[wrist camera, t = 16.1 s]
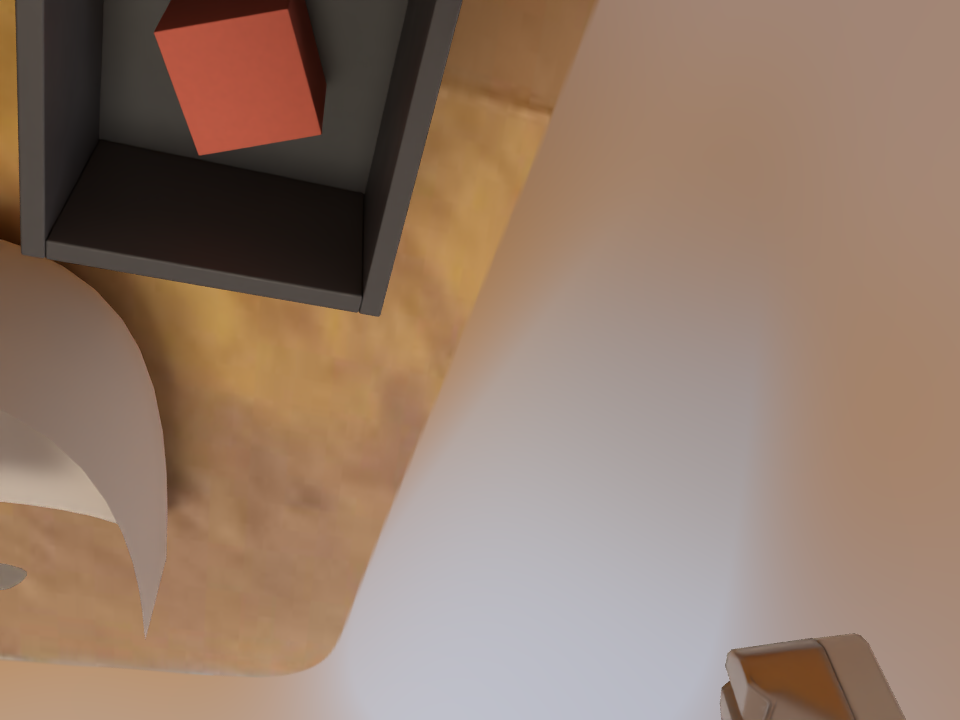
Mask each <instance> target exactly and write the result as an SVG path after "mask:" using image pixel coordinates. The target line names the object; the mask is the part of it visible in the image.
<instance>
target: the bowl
mask: <svg viewBox="0 0 960 720" xmlns="http://www.w3.org/2000/svg"><path fill="white" fill-rule="evenodd" d="M0 502H9V503H18V504H27V505H34V506H41V507H47V508H54V509H60V510H65V511H70V512H75V513H80V514H84V515H89V516H93V517H96V518H100V519H103V520H107V521H110V522H114V523H117V524H118V525H119V527H120V529H121V531H122V533H123V536H124V539H125V542H126V545H127V548H128V550H129V553H130V556H131V559H132V562H133V566H134V570H135V574H136V578H137V583H138V587H139V592H140V599H141V606H142V613H143V623H144V633H145V639H146V635H147V631H148V627H149V623H150V620H151V616H152V612H153V608H154V604H155V600H156V596H157V592H158V588H159V584H160V581H161V577H162V573H163V569H164V565H165V562H166V550H167V504H168V503H167V474H166V460H165V450H164V440H163V430H162V425H161V420H160V415H159V410H158V405H157V400H156V395H155V390H154V387H153V384H152V381H151V379H150V376H149V373H148V370H147V368H146V365H145V362H144V359H143V357H142V354H141V351H140V349H139V347H138V345H137V344H136V342H135V340H134V338H133V337H132V335H131V333H130V332H129V330H128V328H127V326H126V325H125V323H124V321H123V320H122V318H121V317H120V316H119V315H118V314H117V313H116V312H115V311H114V310H113V309H112V307H111V306H110V305H109V304H108V303H107V302H106V301H105V300H104V299H103V298H102V296H101V295H100V294H99V293H98V292H97V291H96V290H95V289H94V288H93V287H91V286H90V285H88V284H87V283H86V282H84V281H83V280H82V279H80V278H79V277H77V276H76V275H75V274H73V273H72V272H70V271H69V270H68V269H66V268H65V267H64V266H62V265H60V264H58V263H56V262H54V261H52V260H50V259H47V258H46V257H45V258H38V257H32V256H27V255H22V254H21V246H19V245H16V244H13V243H10V242H8V241H5V240H2V239H0ZM26 576H27V572H26V571H25V570H23V569H22V568H19V567H15V566H11V565H7V564H1V563H0V590H5V589H9V588H11V587H13V586H15V585H17V584H19V583H20V582H21V581H22V580H23V579H24V578H25V577H26Z"/></svg>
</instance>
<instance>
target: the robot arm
mask: <svg viewBox="0 0 960 720" xmlns="http://www.w3.org/2000/svg"><path fill="white" fill-rule="evenodd" d="M725 667H726V670H727V673H728V676H729V679H730V681H729V682H728V683H726V684H725V685H724V686H723V687H722V690H721V699H720V710H721V719H722V720H906V719H905V716H904V715H903V713H902V710H901V709H900V706H899V704H898V702H897V700H896V698H895V696H894V694H893V692H892V690H891V688H890V686H889V684H888V682H887V680H886V678H885V676H884V674H883V672H882V670H881V668H880V666H879V664H878V662H877V660H876V657H875V656H874V653H873V651H872V649H871V647H870V645H869V643H867V641H866V640H865V639H864V638H863V637H862V636H860V635H858V634H855V633H853V634H845V635H837V636H829V637H822V638H814V639H813V638H810V639H802V640H795V641H788V642H781V643H774V644H767V645H760V646H753V647H746V648H739V649H732V650H731V651H730V652H729V653H728V654H727V660H726V664H725Z"/></svg>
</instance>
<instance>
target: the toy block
mask: <svg viewBox="0 0 960 720" xmlns="http://www.w3.org/2000/svg"><path fill="white" fill-rule="evenodd" d="M154 35H155V38H156V40H157V43H158V46H159V49H160V51H161V54H162V57H163V60H164V62H165V65H166V68H167V70H168V73H169V76H170V79H171V81H172V84H173V87H174V90H175V92H176V95H177V98H178V100H179V103H180V106H181V109H182V111H183V114H184V117H185V120H186V122H187V125H188V128H189V131H190V133H191V136H192V139H193V141H194V144H195V147H196V150H197V152H198V155H199V156H200V155H206V154H212V153H218V152H224V151H230V150H235V149H241V148H247V147H253V146H259V145H264V144H270V143H276V142H282V141H288V140H293V139H299V138H305V137H311V136H317V135H321V134H322V126H323V116H324V107H325V97H326V87H327V84H326V81H325V77H324V73H323V69H322V65H321V61H320V57H319V53H318V49H317V45H316V42H315V38H314V34H313V30H312V26H311V22H310V18H309V14H308V10H307V6H306V2H305V0H171V1H170V3H169V5H168V7H167V9H166V10H165V12H164V14H163V16H162V18H161V20H160V22H159V23H158V25H157V27H156V29H155V31H154Z"/></svg>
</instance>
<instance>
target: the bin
mask: <svg viewBox="0 0 960 720" xmlns="http://www.w3.org/2000/svg"><path fill="white" fill-rule="evenodd" d="M170 1H171V0H15V8H16V52H17V97H18V142H19V187H20V232H21V254H22V255H27V256H32V257H38V258H45V257H46V258H47V259H50V260H56V261H62V262H67V263H73V264H79V265H85V266H90V267H96V268H102V269H108V270H114V271H119V272H125V273H131V274H137V275H143V276H148V277H154V278H160V279H166V280H171V281H177V282H183V283H189V284H195V285H200V286H206V287H212V288H218V289H224V290H229V291H235V292H241V293H247V294H252V295H258V296H264V297H270V298H276V299H281V300H287V301H293V302H299V303H305V304H310V305H316V306H322V307H328V308H333V309H339V310H345V311H351V312H359V313H361V314H366V315H372V316H378V317H379V316H380V314H381V310H382V306H383V302H384V299H385V295H386V291H387V287H388V283H389V280H390V276H391V272H392V268H393V264H394V260H395V257H396V253H397V249H398V245H399V241H400V237H401V234H402V230H403V226H404V222H405V218H406V215H407V211H408V207H409V203H410V199H411V195H412V192H413V188H414V184H415V180H416V176H417V173H418V169H419V165H420V161H421V157H422V153H423V150H424V146H425V142H426V138H427V134H428V130H429V127H430V123H431V119H432V115H433V111H434V108H435V104H436V100H437V96H438V92H439V88H440V85H441V81H442V77H443V73H444V69H445V66H446V62H447V58H448V54H449V50H450V46H451V43H452V39H453V35H454V31H455V27H456V24H457V20H458V16H459V12H460V8H461V4H462V1H463V0H305V2H306V6H307V10H308V14H309V18H310V22H311V26H312V30H313V34H314V38H315V42H316V45H317V49H318V53H319V57H320V61H321V65H322V69H323V73H324V77H325V81H326V84H327V87H326V97H325V107H324V116H323V126H322V134H321V135H317V136H311V137H305V138H299V139H293V140H288V141H282V142H276V143H270V144H264V145H259V146H253V147H247V148H241V149H235V150H230V151H224V152H218V153H212V154H206V155H200V156H199V155H198V152H197V150H196V147H195V144H194V141H193V139H192V136H191V133H190V131H189V128H188V125H187V122H186V120H185V117H184V114H183V111H182V109H181V106H180V103H179V100H178V98H177V95H176V92H175V90H174V87H173V84H172V81H171V79H170V76H169V73H168V70H167V68H166V65H165V62H164V60H163V57H162V54H161V51H160V49H159V46H158V43H157V40H156V38H155V35H154V31H155V29H156V27H157V25H158V23H159V22H160V20H161V18H162V16H163V14H164V12H165V10H166V9H167V7H168V5H169V3H170Z"/></svg>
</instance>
